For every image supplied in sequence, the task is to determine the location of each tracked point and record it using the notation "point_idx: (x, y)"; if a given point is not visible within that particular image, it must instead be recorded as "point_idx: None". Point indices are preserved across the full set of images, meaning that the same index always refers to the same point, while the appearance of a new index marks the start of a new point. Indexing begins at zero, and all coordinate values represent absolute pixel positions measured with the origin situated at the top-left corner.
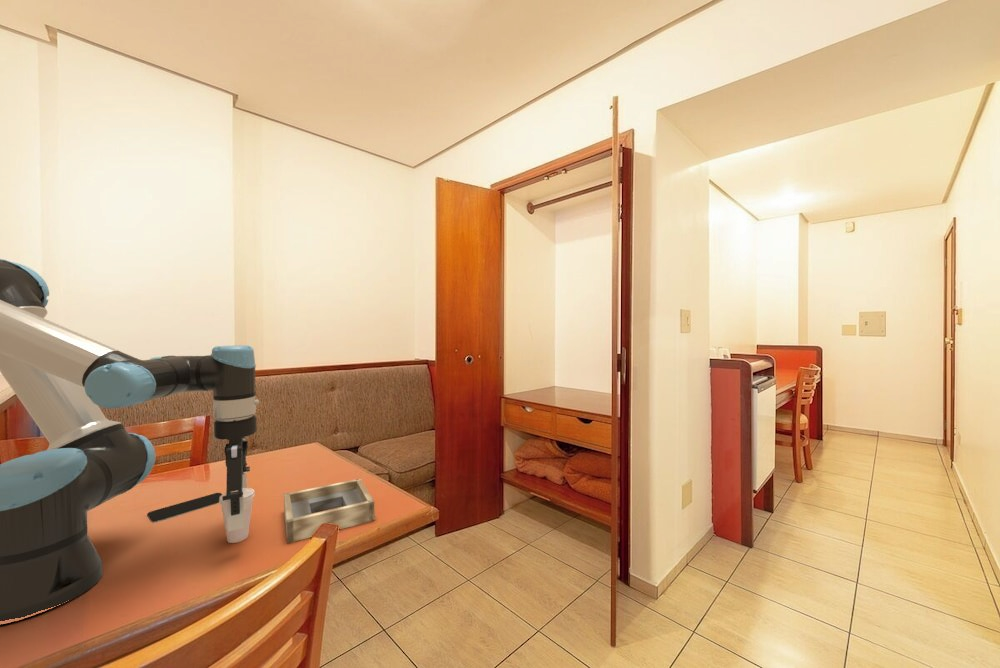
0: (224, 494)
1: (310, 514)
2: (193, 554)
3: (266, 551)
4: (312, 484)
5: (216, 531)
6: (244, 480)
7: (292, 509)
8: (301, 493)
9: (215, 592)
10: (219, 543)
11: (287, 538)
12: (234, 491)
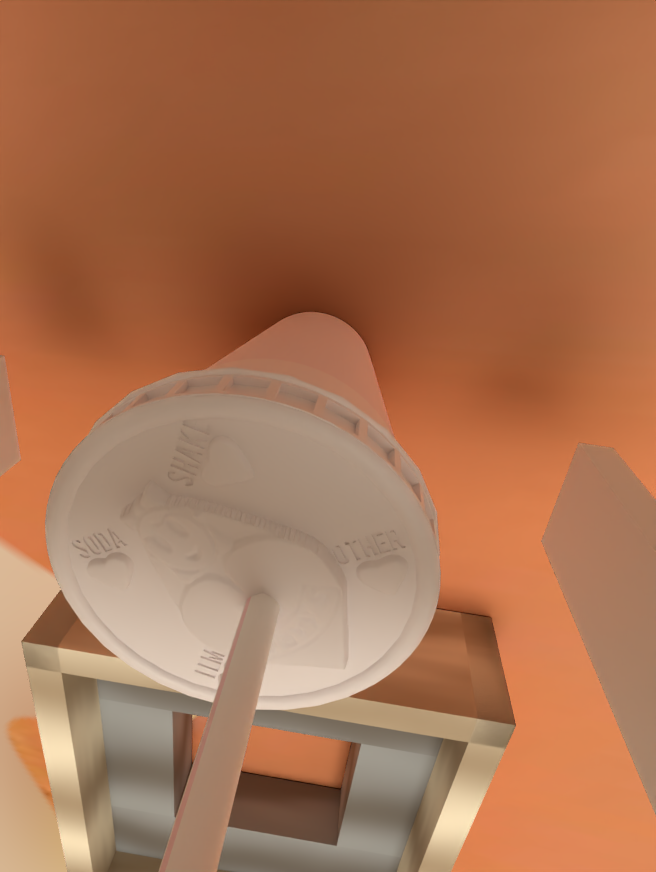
0: (351, 463)
1: (69, 735)
2: (253, 89)
3: (57, 468)
4: None
5: (541, 255)
6: (631, 722)
7: None
8: (448, 779)
9: None
10: (315, 263)
11: None
12: (331, 574)
